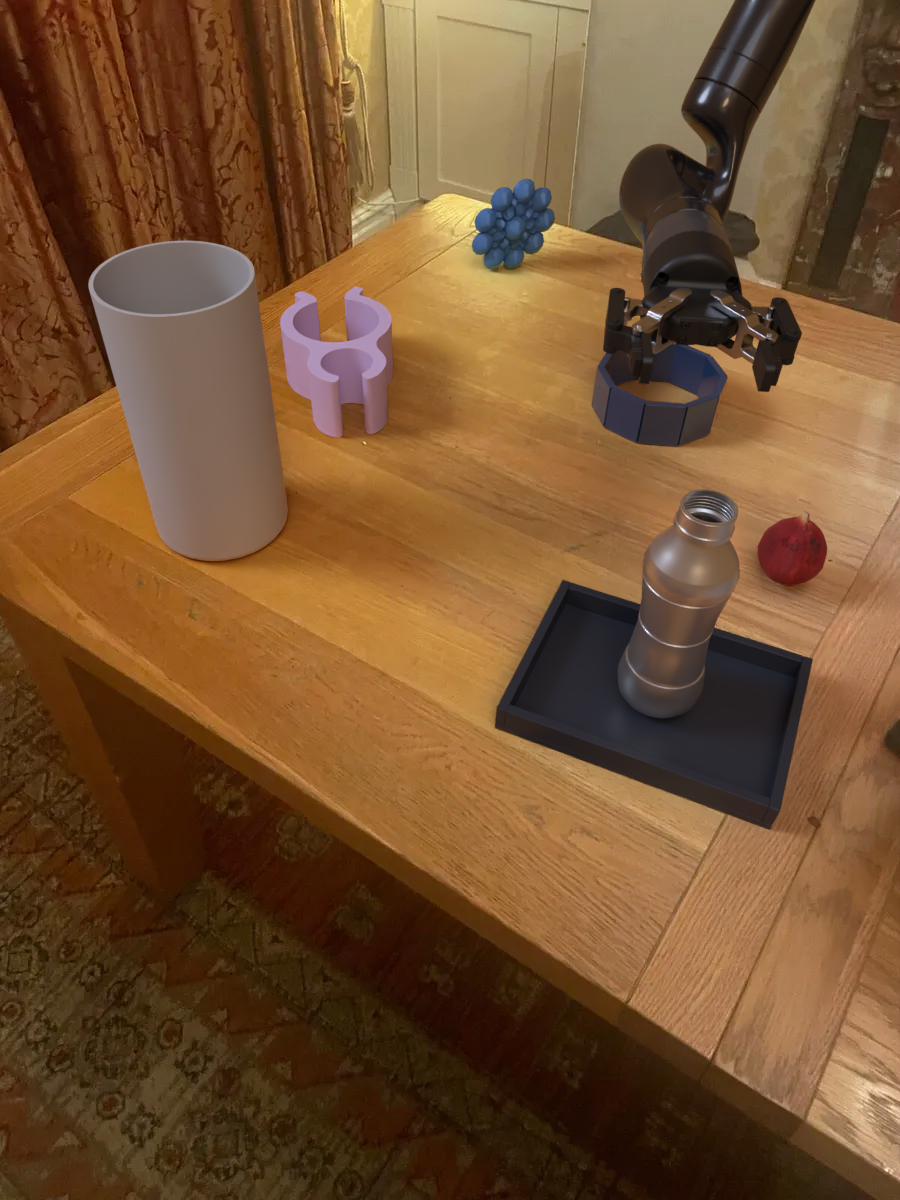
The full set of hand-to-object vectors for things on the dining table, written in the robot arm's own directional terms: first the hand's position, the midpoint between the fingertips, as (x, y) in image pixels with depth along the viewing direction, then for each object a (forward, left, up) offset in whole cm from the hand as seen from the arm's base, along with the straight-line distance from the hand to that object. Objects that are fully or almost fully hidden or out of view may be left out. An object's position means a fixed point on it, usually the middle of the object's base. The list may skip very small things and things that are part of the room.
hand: (706, 377), depth 64 cm
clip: (+42, -19, -24) cm, 52 cm away
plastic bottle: (-3, +10, -23) cm, 25 cm away
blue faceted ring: (+8, -31, -24) cm, 39 cm away
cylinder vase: (+41, +6, -24) cm, 48 cm away
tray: (-3, +10, -24) cm, 26 cm away
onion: (-10, -8, -24) cm, 27 cm away
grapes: (+36, -57, -24) cm, 71 cm away
